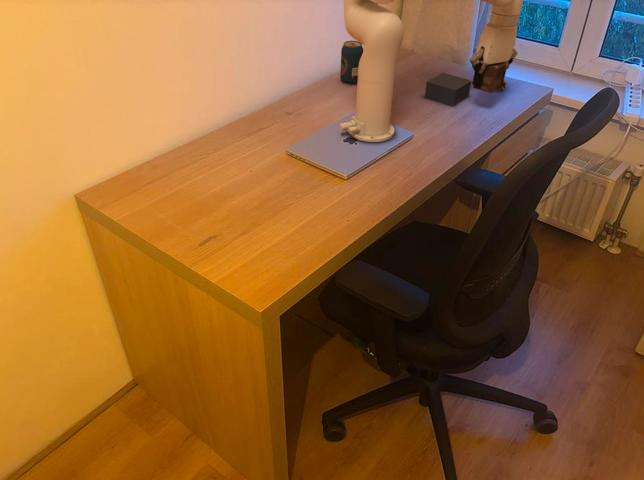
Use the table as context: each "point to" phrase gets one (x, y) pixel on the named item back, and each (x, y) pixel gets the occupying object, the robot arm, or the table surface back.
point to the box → (492, 77)
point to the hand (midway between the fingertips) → (487, 83)
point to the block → (447, 89)
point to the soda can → (350, 62)
